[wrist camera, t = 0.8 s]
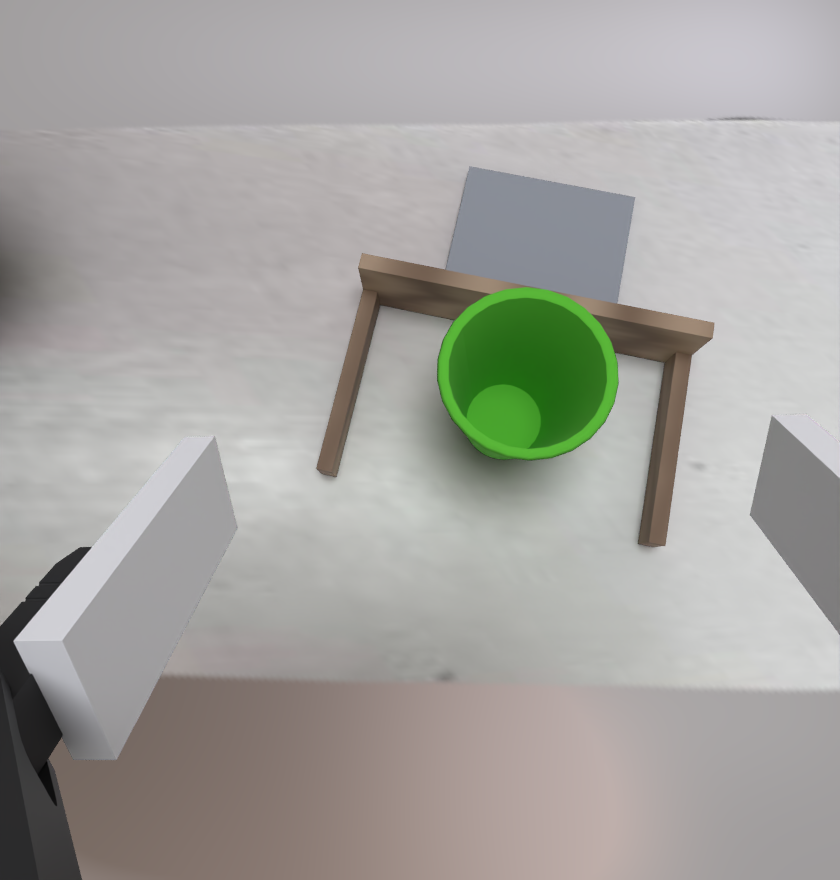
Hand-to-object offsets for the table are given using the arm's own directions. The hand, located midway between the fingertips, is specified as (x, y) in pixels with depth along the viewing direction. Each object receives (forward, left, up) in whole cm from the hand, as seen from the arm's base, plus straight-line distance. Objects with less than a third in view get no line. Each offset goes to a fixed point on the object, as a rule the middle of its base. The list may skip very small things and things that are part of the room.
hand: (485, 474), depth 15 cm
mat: (+2, +21, -25) cm, 33 cm away
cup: (+2, +8, -26) cm, 27 cm away
